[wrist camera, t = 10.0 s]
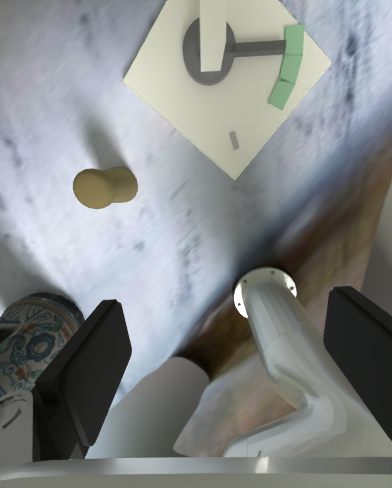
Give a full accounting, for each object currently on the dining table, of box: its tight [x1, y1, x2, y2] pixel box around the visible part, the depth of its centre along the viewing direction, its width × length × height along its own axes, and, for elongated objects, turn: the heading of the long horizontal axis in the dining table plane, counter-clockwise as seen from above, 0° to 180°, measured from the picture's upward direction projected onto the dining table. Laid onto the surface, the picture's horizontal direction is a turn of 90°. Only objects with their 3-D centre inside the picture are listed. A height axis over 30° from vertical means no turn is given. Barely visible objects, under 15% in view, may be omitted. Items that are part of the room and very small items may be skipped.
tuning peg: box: [183, 0, 287, 86], centre depth 23 cm, size 14×7×10 cm, turn 92°
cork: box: [73, 167, 138, 209], centre depth 31 cm, size 6×6×11 cm
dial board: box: [123, 0, 332, 180], centre depth 29 cm, size 22×20×2 cm
